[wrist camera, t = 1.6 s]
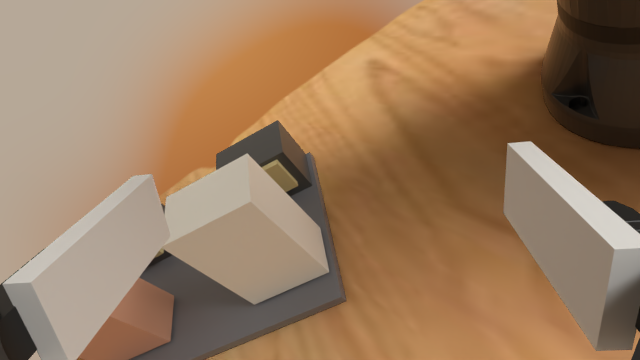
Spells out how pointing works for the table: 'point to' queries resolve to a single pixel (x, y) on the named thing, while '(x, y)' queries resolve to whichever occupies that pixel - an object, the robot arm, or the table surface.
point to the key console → (223, 304)
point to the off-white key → (244, 232)
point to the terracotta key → (134, 325)
